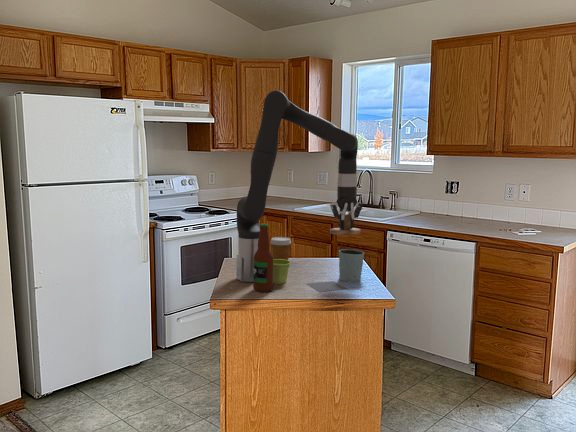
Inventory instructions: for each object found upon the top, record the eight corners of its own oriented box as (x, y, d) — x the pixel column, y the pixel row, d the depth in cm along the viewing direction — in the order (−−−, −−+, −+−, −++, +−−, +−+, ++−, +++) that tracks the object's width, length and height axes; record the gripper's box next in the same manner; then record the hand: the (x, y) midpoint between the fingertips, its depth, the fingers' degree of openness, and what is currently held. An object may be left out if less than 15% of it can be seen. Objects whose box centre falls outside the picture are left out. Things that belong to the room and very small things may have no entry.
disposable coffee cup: (283, 268, 229) (283, 241, 227) (265, 265, 234) (266, 239, 232) (294, 264, 237) (295, 238, 235) (277, 261, 242) (278, 236, 240)
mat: (319, 293, 192) (319, 292, 192) (305, 285, 203) (305, 283, 203) (347, 290, 197) (347, 289, 197) (333, 282, 208) (333, 281, 208)
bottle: (251, 287, 198) (252, 222, 194) (269, 286, 200) (270, 222, 197) (256, 293, 191) (256, 225, 187) (275, 292, 193) (276, 225, 190)
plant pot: (293, 281, 208) (294, 260, 207) (285, 287, 200) (286, 265, 198) (271, 279, 211) (272, 258, 210) (262, 284, 203) (263, 263, 201)
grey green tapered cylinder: (335, 277, 216) (336, 248, 215) (359, 277, 217) (360, 248, 216) (340, 283, 206) (341, 254, 205) (365, 283, 207) (367, 254, 206)
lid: (338, 235, 198) (338, 216, 197) (324, 231, 209) (324, 213, 209) (366, 233, 203) (366, 215, 202) (351, 229, 214) (351, 212, 213)
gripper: (335, 186, 197) (334, 231, 199) (367, 185, 202) (366, 229, 204) (326, 184, 203) (325, 228, 206) (358, 183, 209) (357, 226, 211)
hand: (346, 228), depth 205 cm, fingers closed on lid, 3 cm apart
